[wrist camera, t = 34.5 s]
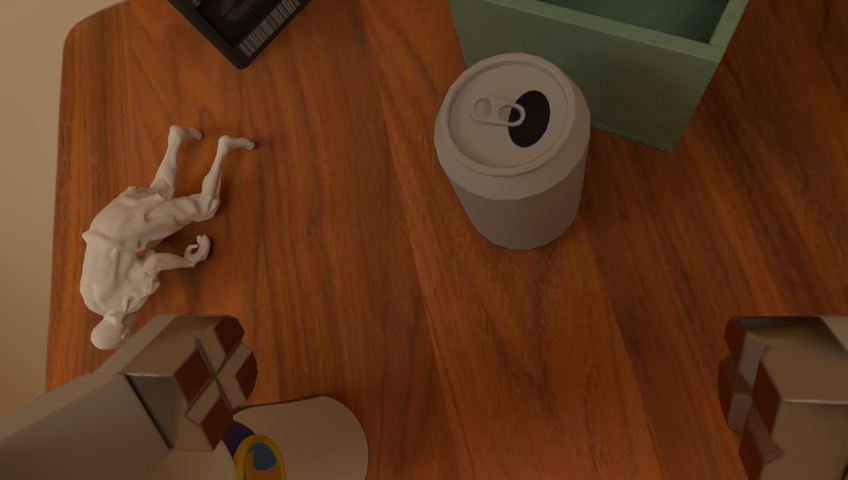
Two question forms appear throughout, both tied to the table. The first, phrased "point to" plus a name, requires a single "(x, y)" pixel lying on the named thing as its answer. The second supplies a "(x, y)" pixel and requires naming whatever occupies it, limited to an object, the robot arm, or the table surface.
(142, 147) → the table surface
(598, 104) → the green box
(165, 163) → the figurine
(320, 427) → the water bottle
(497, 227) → the can
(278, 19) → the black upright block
